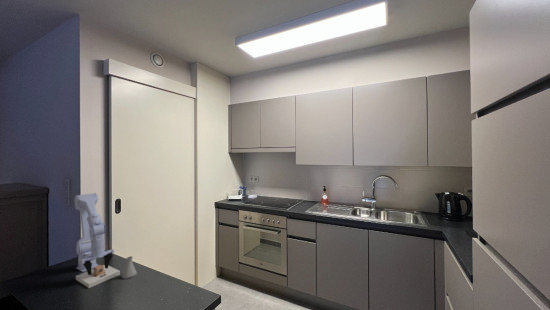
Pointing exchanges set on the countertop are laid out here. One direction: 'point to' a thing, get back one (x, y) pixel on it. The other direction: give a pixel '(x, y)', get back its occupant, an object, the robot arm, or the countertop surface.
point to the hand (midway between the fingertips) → (98, 271)
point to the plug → (98, 270)
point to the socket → (92, 281)
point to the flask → (129, 269)
